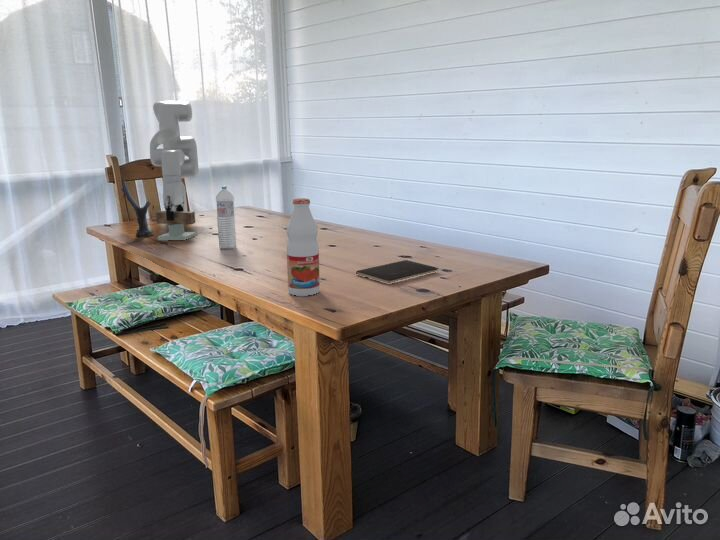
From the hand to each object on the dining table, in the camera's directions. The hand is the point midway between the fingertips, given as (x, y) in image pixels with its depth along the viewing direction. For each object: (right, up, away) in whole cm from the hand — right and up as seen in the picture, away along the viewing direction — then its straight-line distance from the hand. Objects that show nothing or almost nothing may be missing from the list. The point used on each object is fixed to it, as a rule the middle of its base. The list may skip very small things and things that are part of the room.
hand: (175, 218), depth 254 cm
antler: (-18, -8, +6) cm, 20 cm away
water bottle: (+27, -14, -19) cm, 36 cm away
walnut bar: (0, -2, +1) cm, 2 cm away
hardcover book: (+93, -25, -59) cm, 113 cm away
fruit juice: (+64, -29, -80) cm, 106 cm away
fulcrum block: (0, -8, +2) cm, 9 cm away
